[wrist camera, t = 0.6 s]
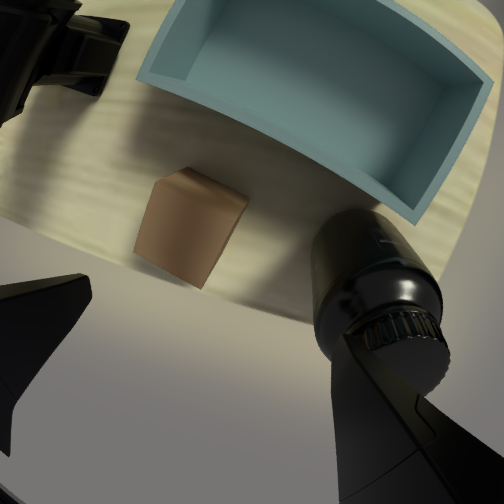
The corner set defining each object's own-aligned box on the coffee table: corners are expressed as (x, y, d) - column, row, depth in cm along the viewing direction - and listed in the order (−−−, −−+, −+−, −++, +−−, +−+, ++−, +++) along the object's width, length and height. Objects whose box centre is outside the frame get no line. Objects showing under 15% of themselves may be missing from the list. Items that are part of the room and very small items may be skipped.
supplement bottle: (365, 304, 22) (391, 434, 11) (293, 265, 22) (278, 401, 11) (417, 236, 19) (496, 348, 8) (343, 187, 18) (392, 280, 8)
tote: (177, 86, 17) (135, 79, 12) (240, -24, 13) (219, -62, 8) (387, 197, 18) (415, 226, 13) (450, 87, 14) (494, 82, 9)
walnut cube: (165, 224, 22) (133, 251, 18) (188, 166, 20) (155, 181, 15) (221, 254, 22) (200, 289, 18) (250, 198, 20) (234, 223, 16)
